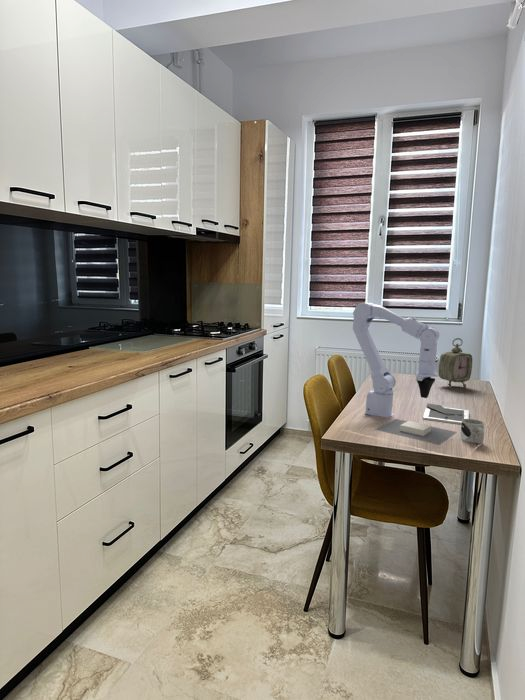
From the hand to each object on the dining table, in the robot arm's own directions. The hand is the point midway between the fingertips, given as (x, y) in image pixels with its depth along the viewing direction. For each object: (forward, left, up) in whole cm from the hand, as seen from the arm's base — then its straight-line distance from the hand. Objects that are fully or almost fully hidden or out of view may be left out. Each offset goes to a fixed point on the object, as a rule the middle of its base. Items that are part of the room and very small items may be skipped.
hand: (424, 397), depth 175 cm
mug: (+21, -11, -10) cm, 26 cm away
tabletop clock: (-12, +75, -10) cm, 77 cm away
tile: (+3, -11, -8) cm, 14 cm away
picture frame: (+4, +14, -10) cm, 18 cm away
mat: (+3, -14, -9) cm, 17 cm away
